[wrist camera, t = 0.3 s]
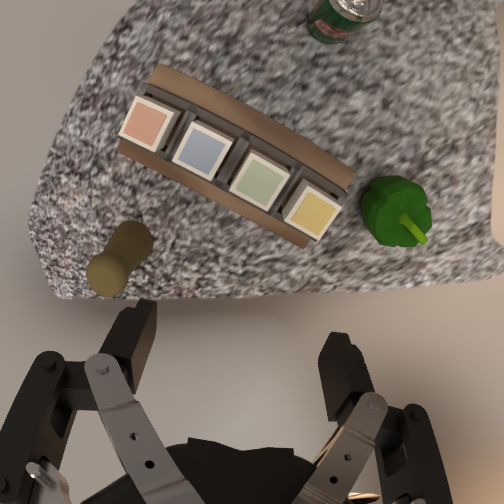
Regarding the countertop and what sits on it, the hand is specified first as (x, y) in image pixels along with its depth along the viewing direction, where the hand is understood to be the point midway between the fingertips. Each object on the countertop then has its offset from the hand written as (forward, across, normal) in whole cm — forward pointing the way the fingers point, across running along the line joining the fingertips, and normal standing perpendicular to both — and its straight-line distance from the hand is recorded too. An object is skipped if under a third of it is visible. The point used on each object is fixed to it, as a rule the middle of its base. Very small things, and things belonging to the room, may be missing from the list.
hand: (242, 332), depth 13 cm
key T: (+22, +5, -4) cm, 23 cm away
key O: (+22, +12, -6) cm, 25 cm away
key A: (+22, -1, -2) cm, 22 cm away
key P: (+22, -7, 0) cm, 23 cm away
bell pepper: (+26, -17, -2) cm, 32 cm away
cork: (+26, +14, +11) cm, 32 cm away
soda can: (+26, -5, -22) cm, 35 cm away
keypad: (+26, +2, -3) cm, 26 cm away
